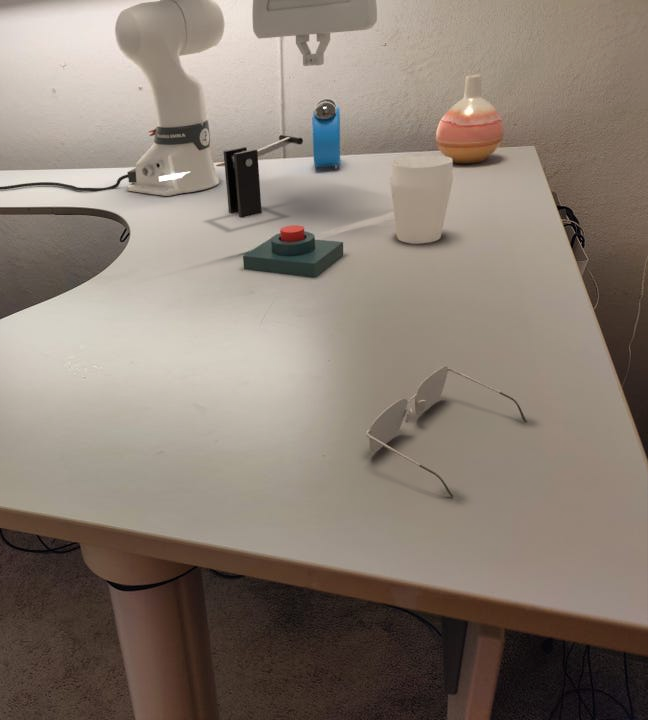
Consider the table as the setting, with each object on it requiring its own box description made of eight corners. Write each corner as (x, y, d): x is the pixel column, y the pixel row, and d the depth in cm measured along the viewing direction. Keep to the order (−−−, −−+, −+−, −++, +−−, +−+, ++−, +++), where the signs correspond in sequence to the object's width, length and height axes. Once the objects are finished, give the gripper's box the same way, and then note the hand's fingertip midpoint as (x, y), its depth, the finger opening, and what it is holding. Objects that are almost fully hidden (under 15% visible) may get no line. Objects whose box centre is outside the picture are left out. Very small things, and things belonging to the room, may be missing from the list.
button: (276, 242, 101) (275, 231, 100) (287, 235, 103) (287, 224, 102) (297, 244, 99) (297, 233, 98) (308, 237, 101) (308, 226, 100)
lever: (285, 142, 128) (282, 130, 127) (304, 146, 123) (301, 133, 121) (227, 167, 125) (224, 154, 124) (244, 172, 119) (241, 159, 118)
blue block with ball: (340, 171, 152) (339, 102, 145) (312, 173, 154) (310, 105, 147) (340, 159, 163) (339, 95, 157) (314, 161, 165) (313, 97, 158)
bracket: (260, 208, 133) (256, 142, 127) (285, 216, 125) (281, 147, 119) (207, 221, 129) (200, 153, 123) (228, 231, 121) (222, 159, 115)
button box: (243, 269, 102) (241, 244, 101) (275, 248, 109) (273, 225, 108) (315, 278, 96) (314, 251, 94) (343, 255, 103) (343, 230, 101)
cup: (386, 246, 104) (388, 169, 98) (392, 229, 111) (393, 156, 106) (448, 246, 101) (453, 166, 95) (449, 228, 108) (454, 153, 103)
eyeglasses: (444, 393, 65) (450, 358, 63) (527, 426, 60) (536, 389, 58) (361, 462, 57) (365, 424, 55) (449, 506, 52) (457, 466, 50)
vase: (514, 157, 145) (523, 70, 137) (475, 170, 139) (482, 80, 131) (460, 152, 156) (465, 71, 148) (421, 164, 150) (425, 80, 142)
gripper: (385, -43, 98) (382, 59, 105) (264, -26, 110) (269, 65, 116) (368, -42, 94) (366, 64, 100) (244, -24, 105) (250, 70, 112)
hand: (313, 65), depth 108 cm, fingers closed
